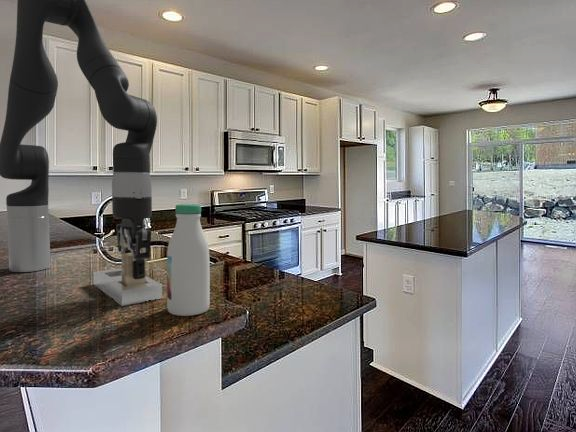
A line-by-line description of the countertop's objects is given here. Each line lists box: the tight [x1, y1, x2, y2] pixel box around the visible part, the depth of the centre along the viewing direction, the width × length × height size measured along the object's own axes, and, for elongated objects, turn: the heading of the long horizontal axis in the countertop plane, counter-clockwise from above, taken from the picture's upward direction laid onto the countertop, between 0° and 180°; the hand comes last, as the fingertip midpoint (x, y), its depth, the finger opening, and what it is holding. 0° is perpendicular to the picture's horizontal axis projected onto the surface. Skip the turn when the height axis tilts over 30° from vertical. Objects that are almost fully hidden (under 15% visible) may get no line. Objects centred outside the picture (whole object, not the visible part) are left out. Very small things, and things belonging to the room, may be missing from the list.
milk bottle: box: [166, 203, 211, 317], centre depth 70 cm, size 8×8×20 cm
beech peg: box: [120, 253, 147, 287], centre depth 79 cm, size 4×4×9 cm
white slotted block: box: [93, 267, 163, 307], centre depth 83 cm, size 20×8×3 cm, turn 41°
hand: (133, 275), depth 79 cm, fingers open, 5 cm apart
